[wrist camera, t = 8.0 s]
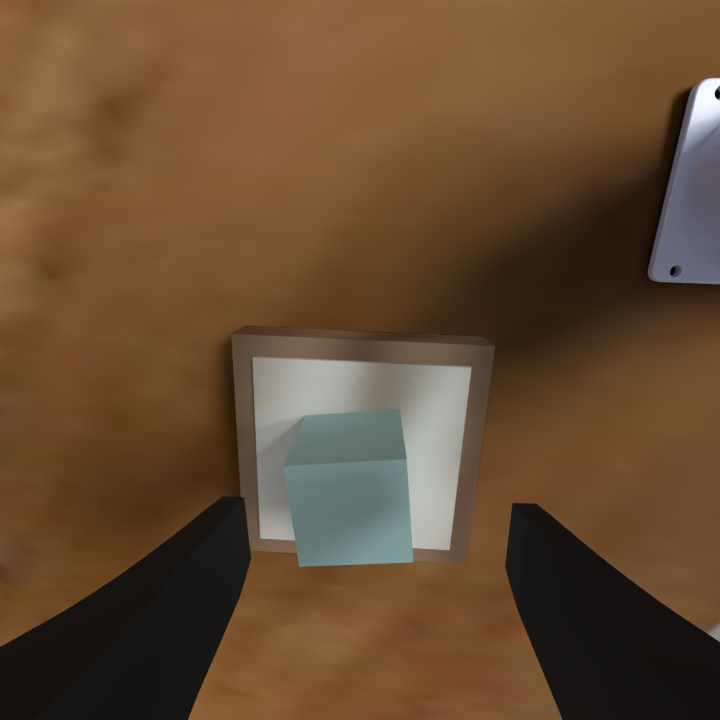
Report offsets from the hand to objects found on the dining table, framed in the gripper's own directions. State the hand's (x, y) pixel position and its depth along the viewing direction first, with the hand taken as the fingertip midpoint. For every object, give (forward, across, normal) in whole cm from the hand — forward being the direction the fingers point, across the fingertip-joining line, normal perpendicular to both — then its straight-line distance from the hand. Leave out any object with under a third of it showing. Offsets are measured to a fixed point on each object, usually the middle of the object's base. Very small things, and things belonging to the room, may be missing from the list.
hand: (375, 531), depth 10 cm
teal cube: (+8, +1, +2) cm, 8 cm away
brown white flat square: (+10, +1, +3) cm, 11 cm away
